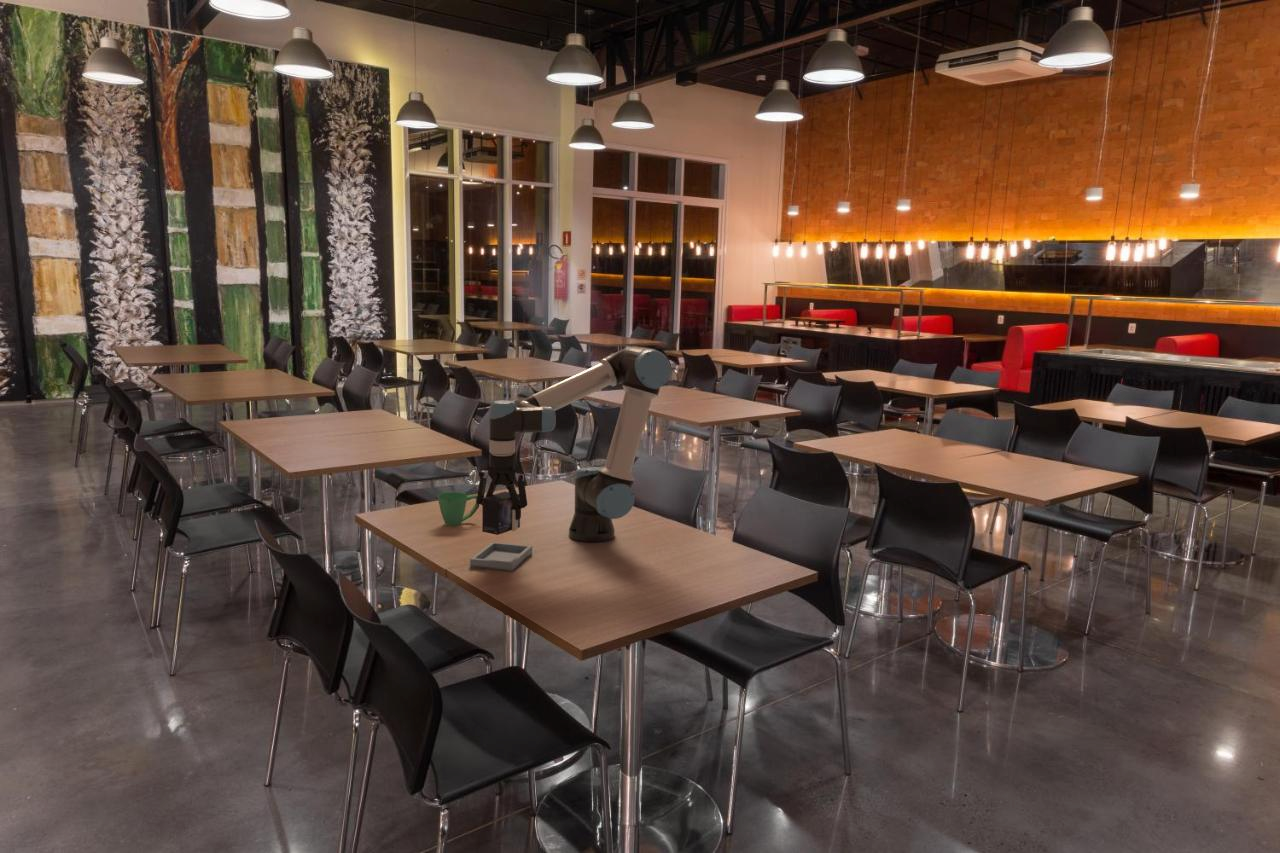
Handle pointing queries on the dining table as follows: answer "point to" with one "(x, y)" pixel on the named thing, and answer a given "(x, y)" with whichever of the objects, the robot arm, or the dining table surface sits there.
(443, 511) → the mug
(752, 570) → the dining table surface
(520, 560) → the tray
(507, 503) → the small box
